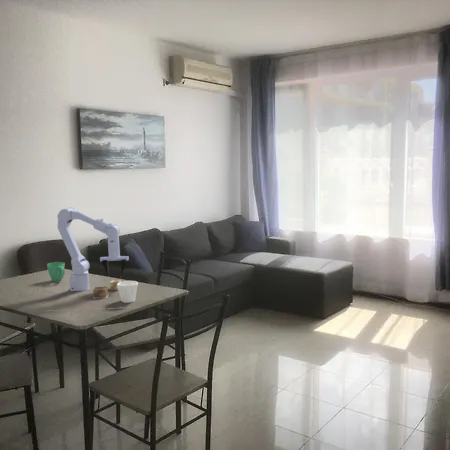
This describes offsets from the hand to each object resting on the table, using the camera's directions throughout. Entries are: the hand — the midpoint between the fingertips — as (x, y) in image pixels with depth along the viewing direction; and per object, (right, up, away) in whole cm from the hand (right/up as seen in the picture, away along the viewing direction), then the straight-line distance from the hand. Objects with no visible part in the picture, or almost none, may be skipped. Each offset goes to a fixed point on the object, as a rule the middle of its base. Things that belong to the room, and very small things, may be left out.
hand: (115, 274), depth 267 cm
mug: (-38, -7, +25) cm, 46 cm away
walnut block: (-4, -10, -13) cm, 17 cm away
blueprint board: (-1, -10, -10) cm, 14 cm away
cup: (+11, -11, -22) cm, 27 cm away
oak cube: (0, -9, +1) cm, 9 cm away
